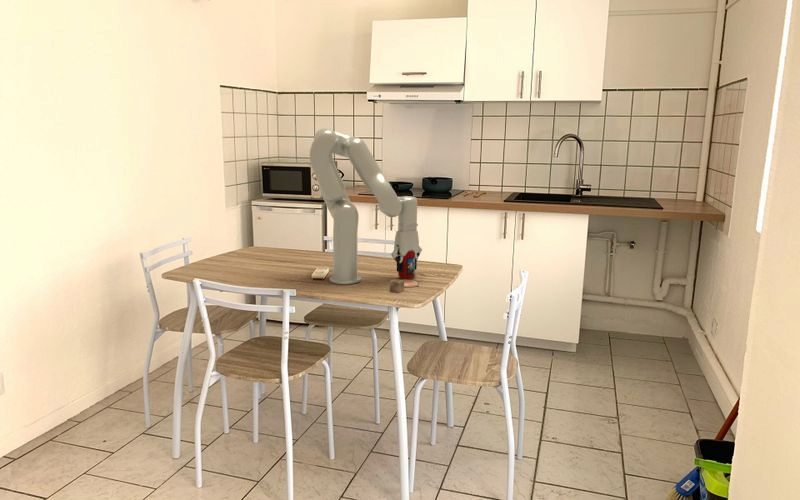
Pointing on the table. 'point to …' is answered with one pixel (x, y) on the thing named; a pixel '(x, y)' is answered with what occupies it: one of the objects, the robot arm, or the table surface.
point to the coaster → (410, 283)
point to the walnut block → (396, 285)
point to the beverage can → (408, 266)
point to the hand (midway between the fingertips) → (406, 270)
